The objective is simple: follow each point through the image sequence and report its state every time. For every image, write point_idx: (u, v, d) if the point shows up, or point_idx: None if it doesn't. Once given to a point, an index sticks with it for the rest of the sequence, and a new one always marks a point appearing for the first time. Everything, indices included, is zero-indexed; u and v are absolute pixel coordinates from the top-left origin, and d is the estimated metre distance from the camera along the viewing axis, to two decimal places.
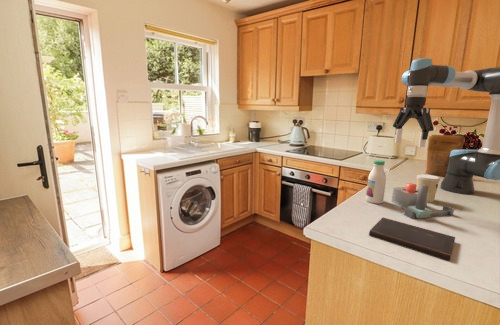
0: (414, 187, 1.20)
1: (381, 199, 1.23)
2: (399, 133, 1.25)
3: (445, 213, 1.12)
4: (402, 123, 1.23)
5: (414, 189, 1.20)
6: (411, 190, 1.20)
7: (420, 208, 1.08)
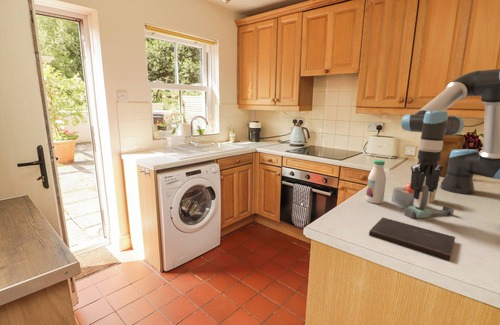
0: None
1: (381, 199, 1.23)
2: None
3: (445, 213, 1.12)
4: (427, 182, 1.08)
5: None
6: (411, 190, 1.20)
7: (420, 208, 1.08)
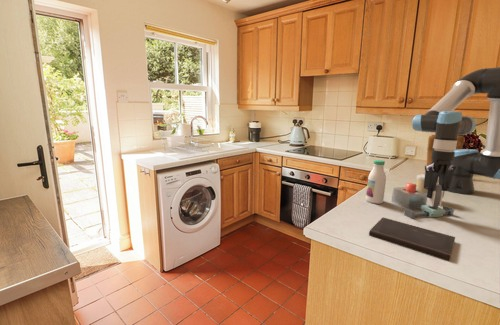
0: (414, 187, 1.20)
1: (381, 199, 1.23)
2: None
3: (445, 213, 1.12)
4: (440, 181, 1.10)
5: (414, 189, 1.20)
6: (411, 190, 1.20)
7: (433, 207, 1.10)
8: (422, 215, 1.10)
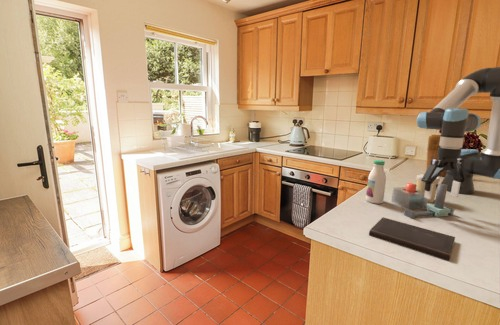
0: (414, 187, 1.20)
1: (381, 199, 1.23)
2: (455, 186, 1.12)
3: None
4: (454, 175, 1.11)
5: (414, 189, 1.20)
6: (411, 190, 1.20)
7: (439, 207, 1.11)
8: (422, 215, 1.10)
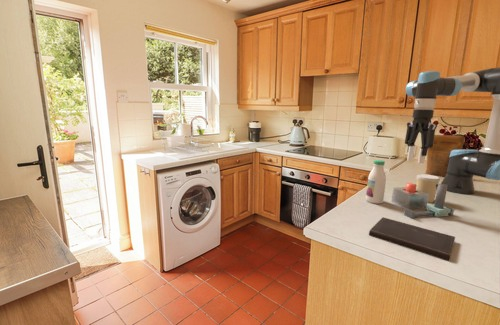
0: (414, 187, 1.20)
1: (381, 199, 1.23)
2: (411, 150, 1.21)
3: None
4: (413, 138, 1.19)
5: (414, 189, 1.20)
6: (411, 190, 1.20)
7: (439, 207, 1.11)
8: (422, 215, 1.10)
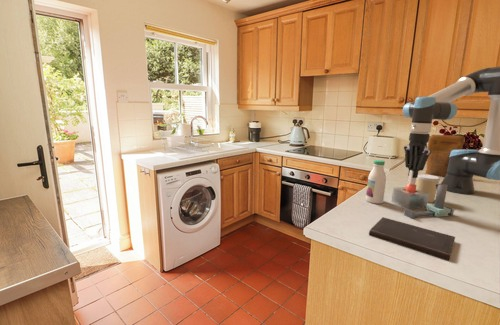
0: (414, 187, 1.20)
1: (381, 199, 1.23)
2: None
3: None
4: (413, 161, 1.20)
5: (414, 189, 1.20)
6: (411, 190, 1.20)
7: (439, 207, 1.11)
8: (422, 215, 1.10)
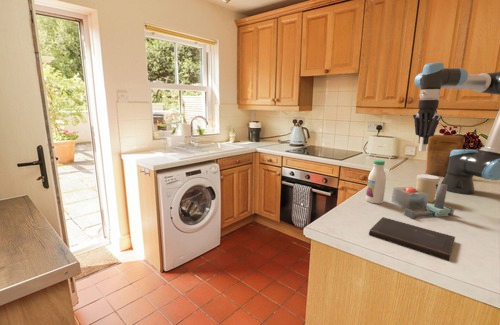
0: (413, 191, 1.20)
1: (381, 199, 1.23)
2: None
3: None
4: (423, 128, 1.22)
5: None
6: None
7: (439, 207, 1.11)
8: (422, 215, 1.10)
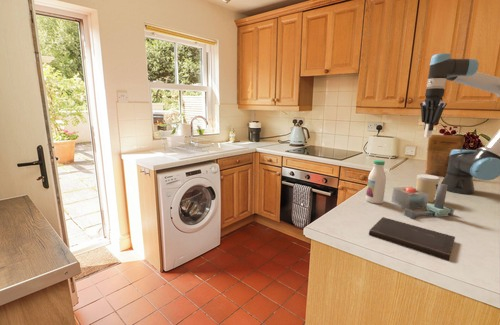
0: (413, 191, 1.20)
1: (381, 199, 1.23)
2: None
3: None
4: (429, 116, 1.30)
5: None
6: None
7: (439, 207, 1.11)
8: (422, 215, 1.10)
